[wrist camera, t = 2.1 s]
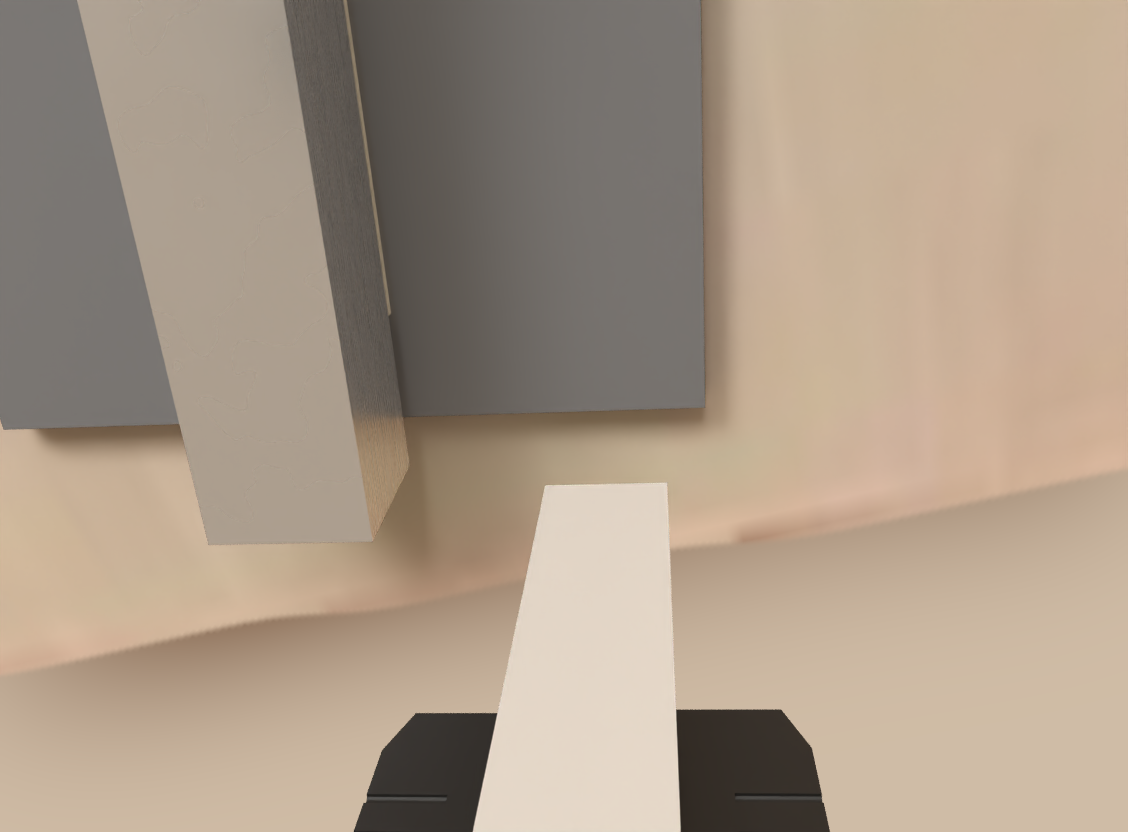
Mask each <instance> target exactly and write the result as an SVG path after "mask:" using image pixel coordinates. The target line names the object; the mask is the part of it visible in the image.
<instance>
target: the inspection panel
mask: <svg viewBox="0 0 1128 832" xmlns="http://www.w3.org/2000/svg"><path fill="white" fill-rule="evenodd" d="M343 2H344V9H345V16H346V23H347V30H348V37H349V44H350V51H351V58H352V65H353V72H354V79H355V86H356V93H357V100H358V107H359V114H360V121H361V128H362V135H363V142H364V149H365V156H366V163H367V170H368V177H369V184H370V191H371V198H372V205H373V212H374V219H375V226H376V233H377V240H378V247H379V254H380V261H381V268H382V275H383V282H384V289H385V296H386V303H387V310H388V317H389V324H390V331H391V338H392V345H393V352H394V359H395V366H396V373H397V380H398V387H399V394H400V401H401V408H402V415H403V417H422V416H453V415H485V414H517V413H549V412H580V411H612V410H644V409H675V408H705V361H704V266H703V172H702V77H701V0H343ZM0 420H1V423H2V426H3V429H4V430H9V429H41V428H73V427H104V426H136V425H168V424H179V420H178V416H177V412H176V408H175V404H174V400H173V396H172V391H171V387H170V383H169V379H168V375H167V371H166V367H165V362H164V358H163V354H162V350H161V346H160V342H159V338H158V333H157V329H156V325H155V321H154V317H153V313H152V309H151V304H150V300H149V296H148V292H147V288H146V284H145V280H144V275H143V271H142V267H141V263H140V259H139V255H138V251H137V246H136V242H135V238H134V234H133V230H132V226H131V222H130V217H129V213H128V209H127V205H126V201H125V197H124V193H123V188H122V184H121V180H120V176H119V172H118V168H117V164H116V159H115V155H114V151H113V147H112V143H111V139H110V135H109V130H108V126H107V122H106V118H105V114H104V110H103V106H102V101H101V97H100V93H99V89H98V85H97V81H96V77H95V72H94V68H93V64H92V60H91V56H90V52H89V48H88V43H87V39H86V35H85V31H84V27H83V23H82V19H81V14H80V10H79V6H78V2H77V0H0Z"/></svg>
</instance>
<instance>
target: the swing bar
mask: <svg viewBox="0 0 1128 832" xmlns="http://www.w3.org/2000/svg"><path fill="white" fill-rule="evenodd" d="M77 2H78V6H79V10H80V14H81V19H82V23H83V27H84V31H85V35H86V39H87V43H88V48H89V52H90V56H91V60H92V64H93V68H94V72H95V77H96V81H97V85H98V89H99V93H100V97H101V101H102V106H103V110H104V114H105V118H106V122H107V126H108V130H109V135H110V139H111V143H112V147H113V151H114V155H115V159H116V164H117V168H118V172H119V176H120V180H121V184H122V188H123V193H124V197H125V201H126V205H127V209H128V213H129V217H130V222H131V226H132V230H133V234H134V238H135V242H136V246H137V251H138V255H139V259H140V263H141V267H142V271H143V275H144V280H145V284H146V288H147V292H148V296H149V300H150V304H151V309H152V313H153V317H154V321H155V325H156V329H157V333H158V338H159V342H160V346H161V350H162V354H163V358H164V362H165V367H166V371H167V375H168V379H169V383H170V387H171V391H172V396H173V400H174V404H175V408H176V412H177V416H178V420H179V425H180V429H181V433H182V437H183V441H184V445H185V449H186V454H187V458H188V462H189V466H190V470H191V474H192V478H193V483H194V487H195V491H196V495H197V499H198V503H199V507H200V512H201V516H202V520H203V524H204V528H205V532H206V536H207V541H208V545H231V544H282V543H333V542H373V540H374V538H375V536H376V534H377V532H378V530H379V528H380V526H381V524H382V522H383V519H384V517H385V515H386V513H387V511H388V509H389V507H390V505H391V503H392V501H393V499H394V497H395V495H396V493H397V491H398V488H399V486H400V484H401V482H402V480H403V478H404V476H405V474H406V472H407V470H408V468H409V466H410V464H409V457H408V450H407V443H406V436H405V429H404V422H403V415H402V408H401V401H400V394H399V387H398V380H397V373H396V366H395V359H394V352H393V345H392V338H391V331H390V324H389V317H388V310H387V303H386V296H385V289H384V282H383V275H382V268H381V261H380V254H379V247H378V240H377V233H376V226H375V219H374V212H373V205H372V198H371V191H370V184H369V177H368V170H367V163H366V156H365V149H364V142H363V135H362V128H361V121H360V114H359V107H358V100H357V93H356V86H355V79H354V72H353V65H352V58H351V51H350V44H349V37H348V30H347V23H346V16H345V9H344V2H343V0H77Z"/></svg>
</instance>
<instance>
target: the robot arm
mask: <svg viewBox="0 0 1128 832" xmlns="http://www.w3.org/2000/svg"><path fill="white" fill-rule="evenodd" d="M354 832H830V830H829V826H828V821H827V816H826V812H825V807H824V803H822V793H821V789H820V784H819V780H818V775H817V770H816V765H815V761H814V756H813V752H812V748H811V747H810V745H809V744H808V743H807V742H806V740H805V739H804V738H803V736H802V735H801V734H800V733H799V731H798V730H797V729H796V728H795V727H794V725H793V724H792V723H791V722H790V720H789V719H788V718H787V716H786V715H785V714H784V713H783V712H782V710H676V697H675V672H674V646H673V620H672V594H671V570H670V542H669V516H668V490H667V483H624V484H581V485H545V489H544V494H543V499H542V503H541V508H540V513H539V518H538V522H537V527H536V532H535V537H534V542H533V546H532V551H531V556H530V561H529V565H528V570H527V575H526V580H525V585H524V589H523V594H522V599H521V604H520V608H519V614H518V618H517V623H516V628H515V633H514V637H513V642H512V647H511V651H510V656H509V661H508V666H507V671H506V676H505V680H504V685H503V690H502V694H501V700H500V704H499V709H498V713H416V714H415V715H414V716H413V717H412V718H411V720H409V721H408V723H407V724H406V725H405V726H404V727H403V728H402V729H401V730H400V731H399V732H398V734H397V735H396V736H395V737H394V738H393V739H392V740H391V741H390V742H389V743H388V745H387V746H386V747H385V748H384V749H383V750H382V752H381V755H380V758H379V761H378V764H377V767H376V769H375V772H374V775H373V778H372V781H371V784H370V786H369V789H368V792H367V802H366V803H364V804H363V806H362V809H361V812H360V815H359V818H358V821H357V824H356V827H355V829H354Z"/></svg>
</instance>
